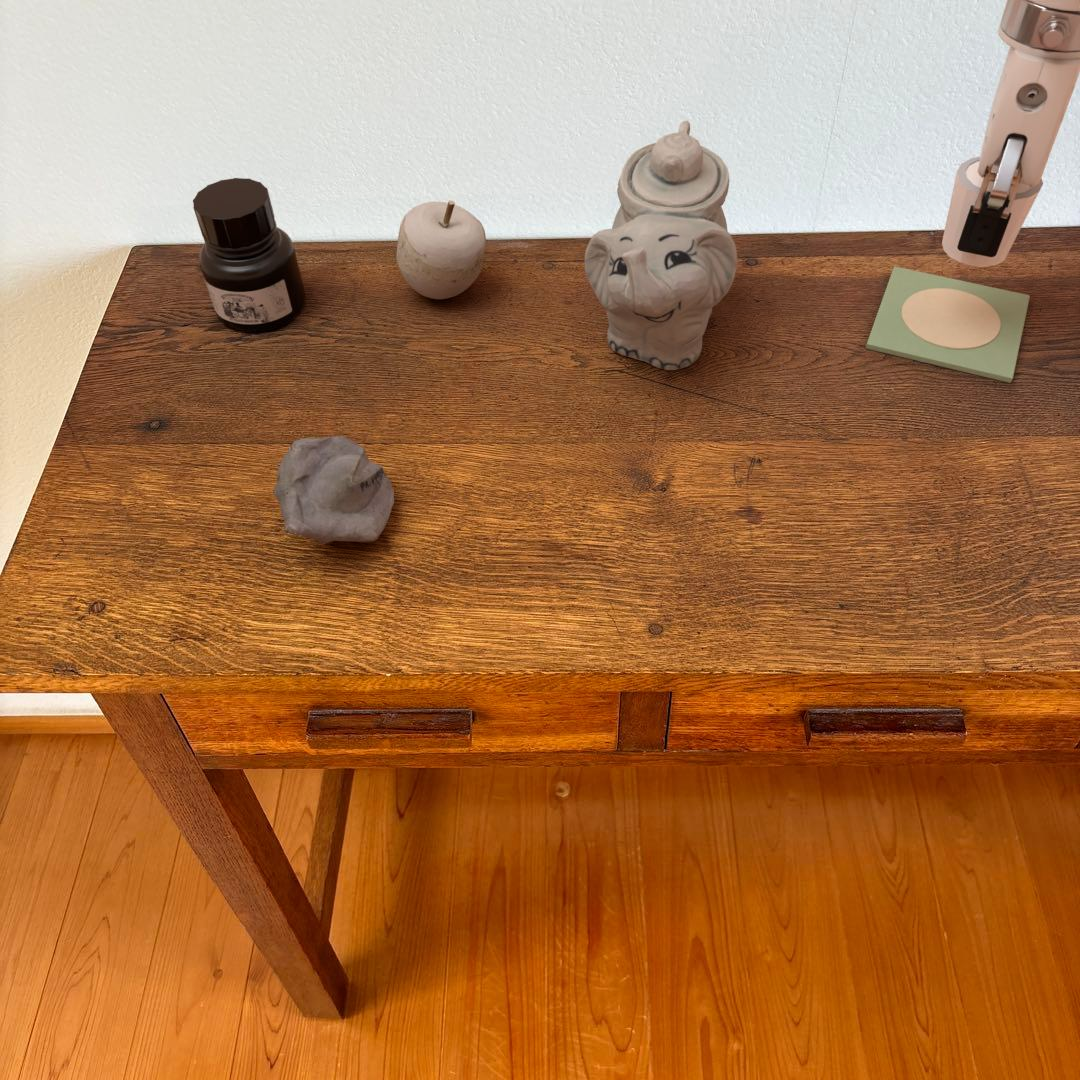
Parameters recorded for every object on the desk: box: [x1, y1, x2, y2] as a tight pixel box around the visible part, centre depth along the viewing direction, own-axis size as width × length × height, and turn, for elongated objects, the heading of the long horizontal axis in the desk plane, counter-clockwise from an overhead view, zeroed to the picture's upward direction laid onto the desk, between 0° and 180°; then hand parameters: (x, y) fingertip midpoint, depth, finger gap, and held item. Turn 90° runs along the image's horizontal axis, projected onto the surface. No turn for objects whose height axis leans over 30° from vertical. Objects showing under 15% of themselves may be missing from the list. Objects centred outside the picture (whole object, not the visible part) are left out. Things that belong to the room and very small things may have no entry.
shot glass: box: [941, 156, 1044, 268], centre depth 87 cm, size 7×7×7 cm
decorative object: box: [395, 200, 487, 300], centre depth 98 cm, size 9×9×10 cm
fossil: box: [273, 435, 395, 545], centre depth 79 cm, size 11×9×8 cm
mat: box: [865, 265, 1031, 384], centre depth 96 cm, size 13×13×1 cm
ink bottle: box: [192, 177, 306, 332], centre depth 96 cm, size 10×9×12 cm
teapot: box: [584, 120, 738, 371], centre depth 89 cm, size 16×15×19 cm
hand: (983, 226), depth 88 cm, fingers closed on shot glass, 6 cm apart
